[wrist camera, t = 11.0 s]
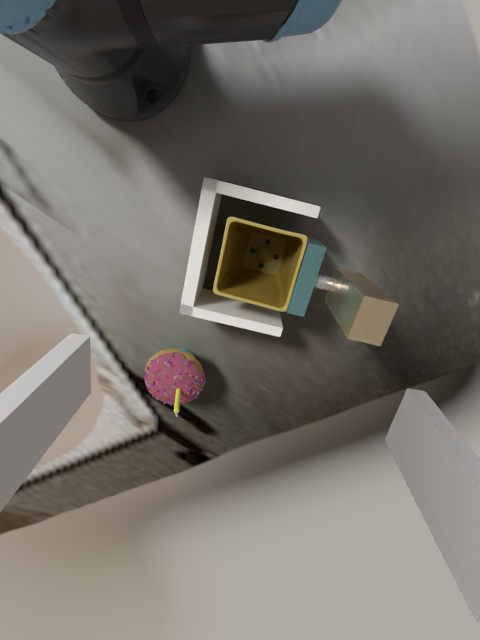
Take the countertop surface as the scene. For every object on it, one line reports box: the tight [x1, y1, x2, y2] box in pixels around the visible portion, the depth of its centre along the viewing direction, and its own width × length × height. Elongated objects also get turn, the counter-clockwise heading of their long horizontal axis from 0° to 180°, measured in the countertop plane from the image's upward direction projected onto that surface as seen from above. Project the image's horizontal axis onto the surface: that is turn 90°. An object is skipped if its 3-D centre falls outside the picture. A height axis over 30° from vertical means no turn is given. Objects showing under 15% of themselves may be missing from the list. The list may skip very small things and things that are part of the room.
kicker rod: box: [286, 237, 399, 346], centre depth 36 cm, size 8×7×18 cm
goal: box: [179, 177, 321, 337], centre depth 41 cm, size 15×12×8 cm
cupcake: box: [145, 349, 205, 417], centre depth 46 cm, size 9×8×12 cm
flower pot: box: [213, 217, 308, 312], centre depth 40 cm, size 9×9×9 cm
